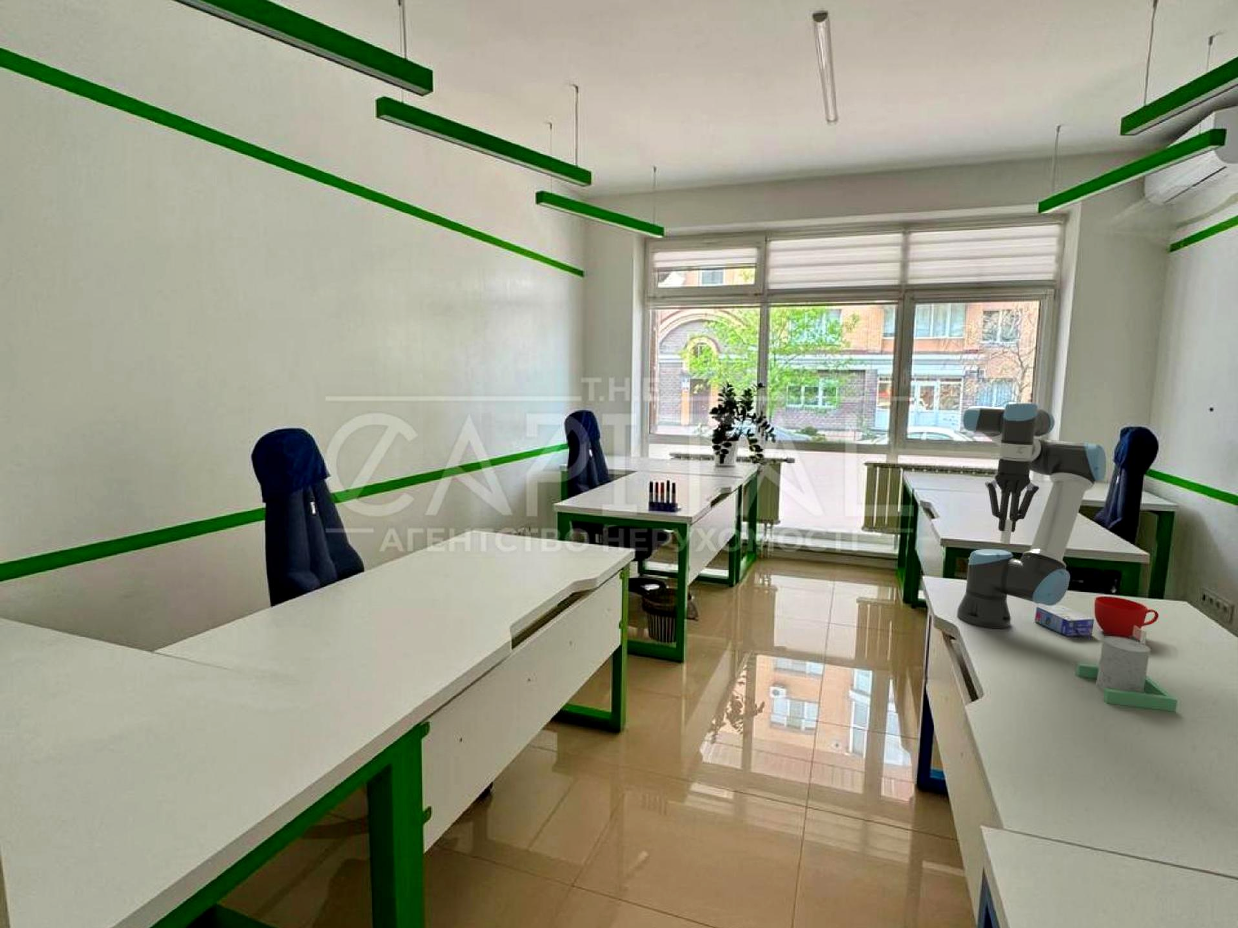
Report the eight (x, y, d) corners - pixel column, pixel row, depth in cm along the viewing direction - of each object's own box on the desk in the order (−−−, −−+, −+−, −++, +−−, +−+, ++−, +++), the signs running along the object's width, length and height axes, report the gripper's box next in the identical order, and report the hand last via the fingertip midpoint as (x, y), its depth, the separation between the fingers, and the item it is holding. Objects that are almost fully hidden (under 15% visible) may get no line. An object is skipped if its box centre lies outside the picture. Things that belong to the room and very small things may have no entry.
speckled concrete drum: (1145, 703, 157) (1153, 655, 155) (1097, 691, 162) (1104, 645, 160) (1140, 687, 165) (1147, 642, 163) (1094, 677, 170) (1100, 633, 168)
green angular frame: (1069, 667, 175) (1076, 618, 173) (1130, 674, 172) (1138, 625, 170) (1106, 702, 156) (1114, 648, 154) (1175, 711, 153) (1184, 655, 151)
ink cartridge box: (1033, 622, 209) (1072, 639, 194) (1035, 606, 208) (1074, 622, 194) (1059, 621, 210) (1100, 637, 196) (1061, 604, 210) (1102, 620, 196)
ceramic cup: (1167, 646, 192) (1172, 614, 191) (1104, 639, 196) (1108, 608, 194) (1142, 629, 205) (1146, 599, 204) (1082, 624, 208) (1086, 594, 207)
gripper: (993, 459, 173) (983, 544, 177) (1047, 462, 170) (1036, 548, 174) (984, 456, 181) (975, 537, 184) (1035, 458, 178) (1025, 541, 181)
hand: (1004, 542), depth 179 cm, fingers closed
